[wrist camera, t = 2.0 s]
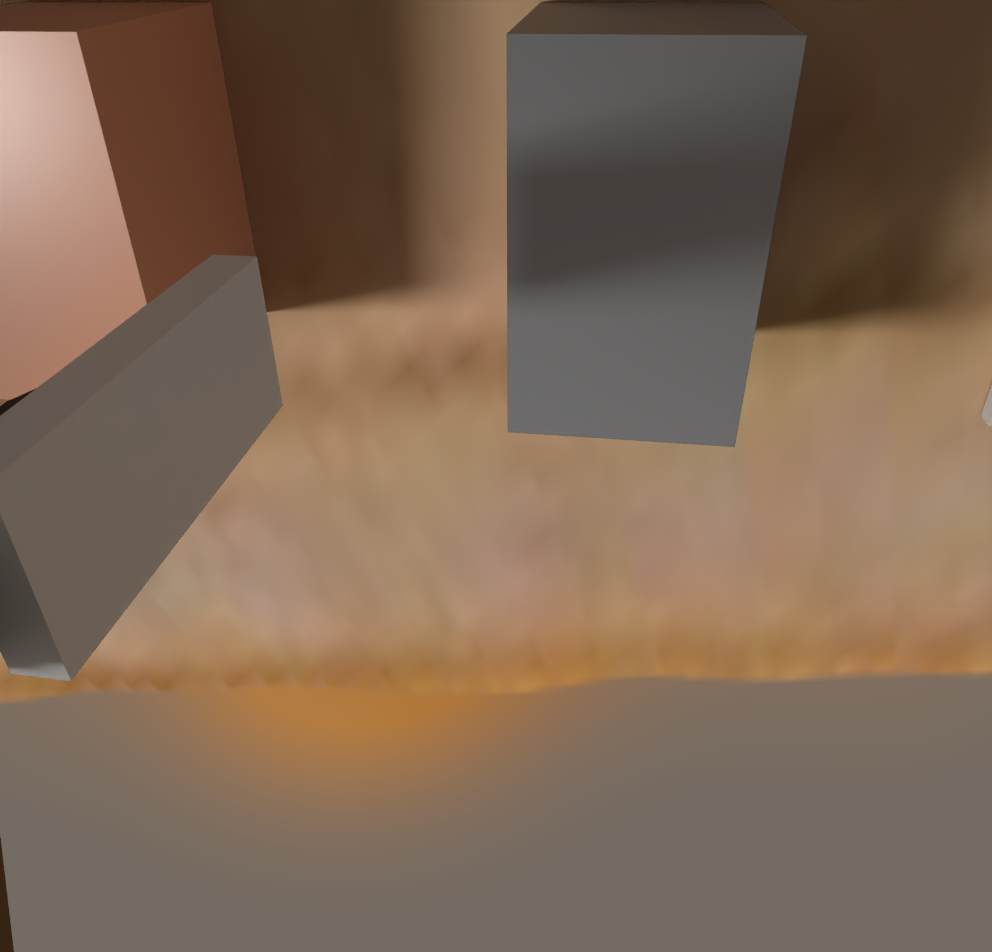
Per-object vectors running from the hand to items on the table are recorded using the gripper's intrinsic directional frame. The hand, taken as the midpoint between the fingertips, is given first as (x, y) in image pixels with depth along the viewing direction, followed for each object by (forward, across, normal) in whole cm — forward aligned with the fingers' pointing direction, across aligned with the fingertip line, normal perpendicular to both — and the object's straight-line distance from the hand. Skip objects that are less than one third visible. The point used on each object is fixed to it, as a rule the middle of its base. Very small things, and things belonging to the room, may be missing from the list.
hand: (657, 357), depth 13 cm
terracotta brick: (+10, -14, 0) cm, 17 cm away
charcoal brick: (+10, -1, 0) cm, 10 cm away
